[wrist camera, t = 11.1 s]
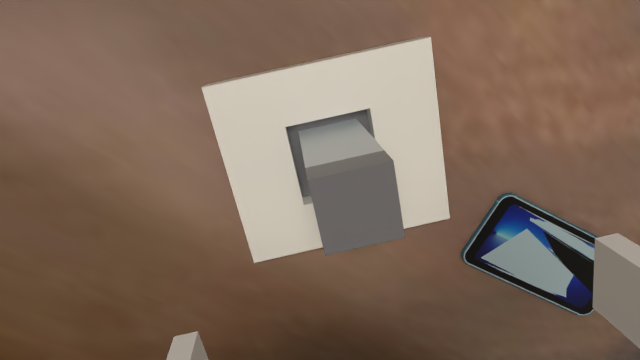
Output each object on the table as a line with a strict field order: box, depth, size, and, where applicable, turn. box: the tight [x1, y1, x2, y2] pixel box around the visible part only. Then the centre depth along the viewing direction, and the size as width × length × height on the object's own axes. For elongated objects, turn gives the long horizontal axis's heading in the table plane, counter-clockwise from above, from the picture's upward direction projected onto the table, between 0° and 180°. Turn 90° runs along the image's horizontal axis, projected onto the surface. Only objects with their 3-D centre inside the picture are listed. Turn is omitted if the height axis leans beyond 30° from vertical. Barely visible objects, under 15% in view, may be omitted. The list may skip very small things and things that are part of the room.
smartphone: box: [461, 193, 599, 316], centre depth 38 cm, size 7×1×15 cm
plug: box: [298, 119, 405, 256], centre depth 27 cm, size 4×4×11 cm
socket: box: [202, 37, 450, 263], centre depth 32 cm, size 16×14×2 cm
